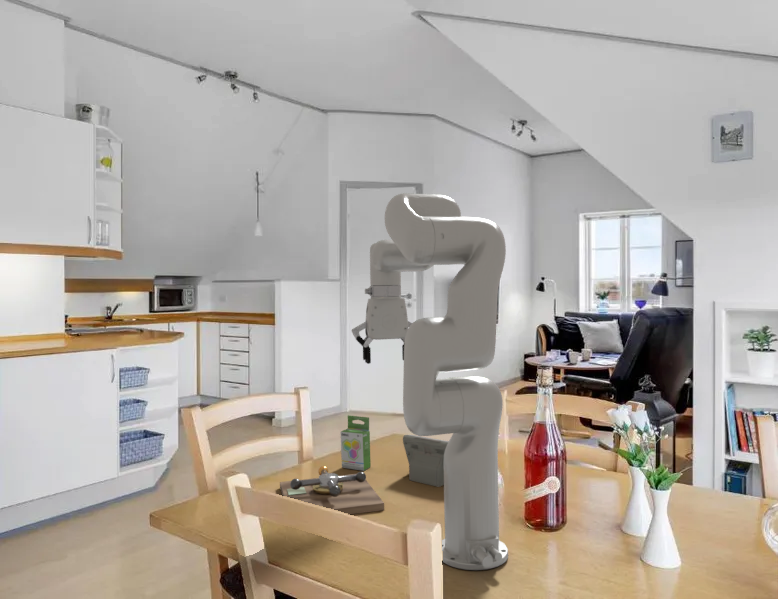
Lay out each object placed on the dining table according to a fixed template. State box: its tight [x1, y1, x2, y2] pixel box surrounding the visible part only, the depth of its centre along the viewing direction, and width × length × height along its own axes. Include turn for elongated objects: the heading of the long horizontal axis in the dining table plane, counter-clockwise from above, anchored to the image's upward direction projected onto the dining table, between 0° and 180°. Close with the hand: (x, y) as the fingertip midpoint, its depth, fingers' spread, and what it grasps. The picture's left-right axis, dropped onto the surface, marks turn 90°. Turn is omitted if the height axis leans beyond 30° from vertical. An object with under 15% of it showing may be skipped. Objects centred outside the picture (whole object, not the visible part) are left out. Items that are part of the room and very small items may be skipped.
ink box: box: [340, 414, 372, 472], centre depth 161 cm, size 7×4×13 cm, turn 61°
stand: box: [279, 473, 385, 515], centre depth 137 cm, size 22×20×2 cm
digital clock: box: [402, 434, 449, 488], centre depth 149 cm, size 16×9×11 cm, turn 39°
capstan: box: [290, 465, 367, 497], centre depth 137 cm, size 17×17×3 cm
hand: (386, 361), depth 149 cm, fingers open, 9 cm apart
